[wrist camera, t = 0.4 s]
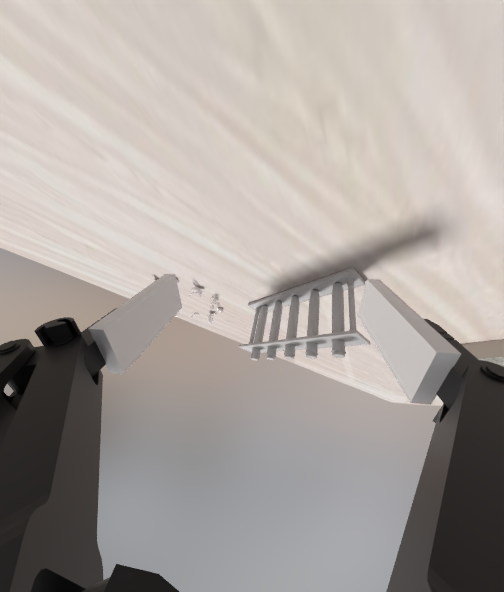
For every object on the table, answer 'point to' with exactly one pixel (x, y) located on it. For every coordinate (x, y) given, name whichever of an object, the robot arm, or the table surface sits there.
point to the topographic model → (487, 351)
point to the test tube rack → (313, 341)
